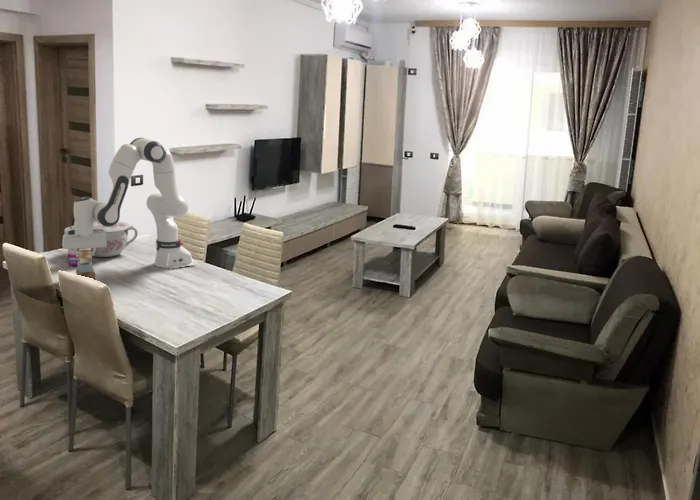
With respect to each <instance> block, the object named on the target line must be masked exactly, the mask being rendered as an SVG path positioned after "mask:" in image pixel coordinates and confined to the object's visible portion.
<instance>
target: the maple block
mask: <svg viewBox="0 0 700 500" xmlns="http://www.w3.org/2000/svg"><path fill="white" fill-rule="evenodd" d="M79 254H80V255H79V256H80V263H91V250H90V249H79Z"/></svg>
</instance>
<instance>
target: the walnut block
mask: <svg viewBox="0 0 700 500" xmlns="http://www.w3.org/2000/svg"><path fill="white" fill-rule="evenodd" d="M75 273H76V274H77V275H81V276H85V277H89V278H93V279H94V280H96V272H95V270H94V267H92V272H84V273H79V271H78V268H75Z"/></svg>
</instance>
